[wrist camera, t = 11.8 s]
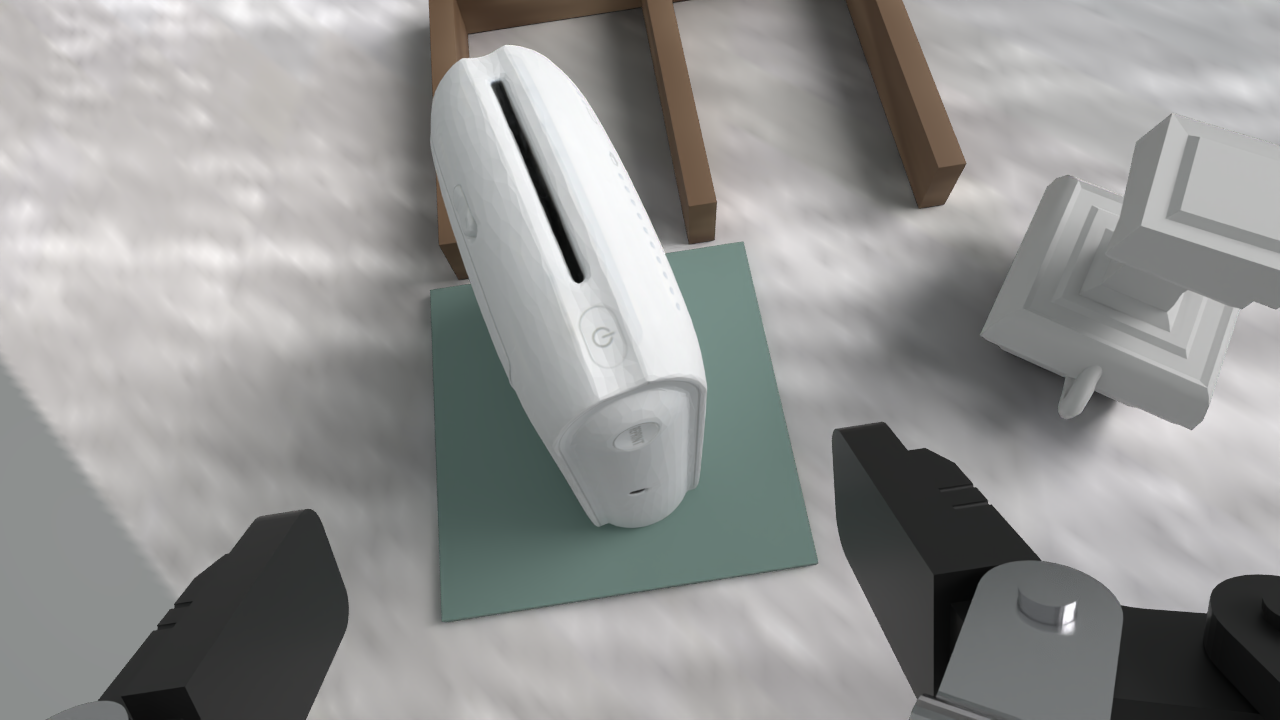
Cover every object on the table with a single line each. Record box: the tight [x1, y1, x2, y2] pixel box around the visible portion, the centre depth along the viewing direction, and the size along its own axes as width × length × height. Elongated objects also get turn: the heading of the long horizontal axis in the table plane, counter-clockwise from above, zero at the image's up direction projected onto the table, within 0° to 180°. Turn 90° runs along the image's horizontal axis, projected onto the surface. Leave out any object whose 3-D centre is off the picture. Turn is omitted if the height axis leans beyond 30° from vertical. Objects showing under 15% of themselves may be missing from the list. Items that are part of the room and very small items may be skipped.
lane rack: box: [429, 0, 966, 280], centre depth 30 cm, size 19×14×3 cm
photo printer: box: [430, 45, 707, 528], centre depth 21 cm, size 10×4×12 cm, turn 22°
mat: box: [430, 242, 818, 622], centre depth 26 cm, size 12×12×1 cm
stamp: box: [980, 113, 1280, 430], centre depth 23 cm, size 9×7×8 cm
